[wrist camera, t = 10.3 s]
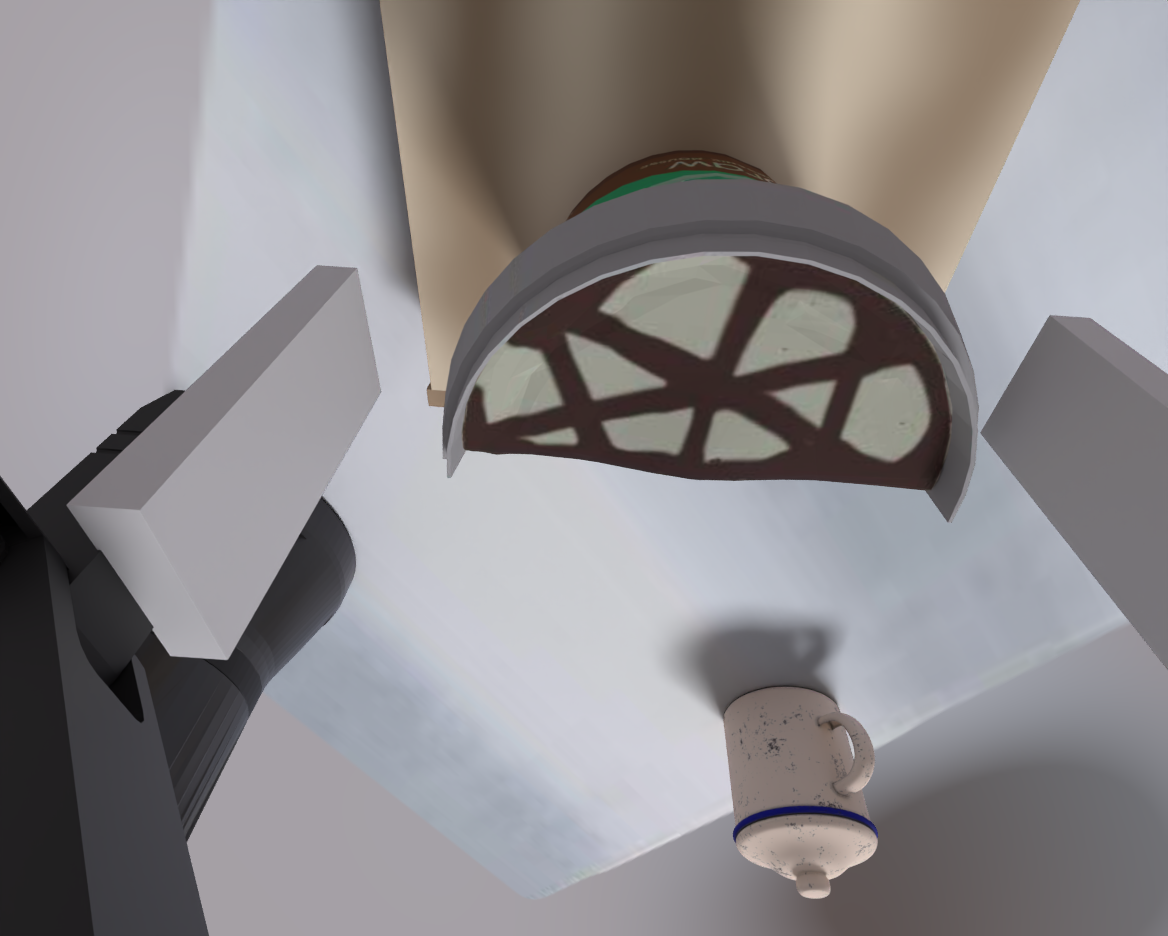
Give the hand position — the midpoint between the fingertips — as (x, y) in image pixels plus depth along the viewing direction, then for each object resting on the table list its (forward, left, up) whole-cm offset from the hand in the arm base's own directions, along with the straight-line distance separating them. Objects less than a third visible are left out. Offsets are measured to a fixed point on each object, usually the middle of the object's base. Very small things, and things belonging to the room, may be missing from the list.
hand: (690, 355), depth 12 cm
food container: (+1, 0, -9) cm, 9 cm away
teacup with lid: (+14, -36, -13) cm, 41 cm away
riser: (0, 0, -13) cm, 13 cm away
